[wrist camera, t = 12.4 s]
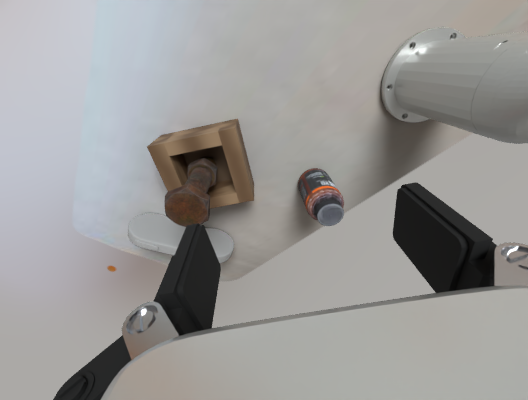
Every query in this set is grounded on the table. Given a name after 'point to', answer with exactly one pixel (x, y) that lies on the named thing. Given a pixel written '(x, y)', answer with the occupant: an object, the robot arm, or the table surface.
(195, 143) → the socket block
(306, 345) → the robot arm
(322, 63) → the table surface
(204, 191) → the bolt
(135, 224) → the game controller
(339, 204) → the supplement bottle
